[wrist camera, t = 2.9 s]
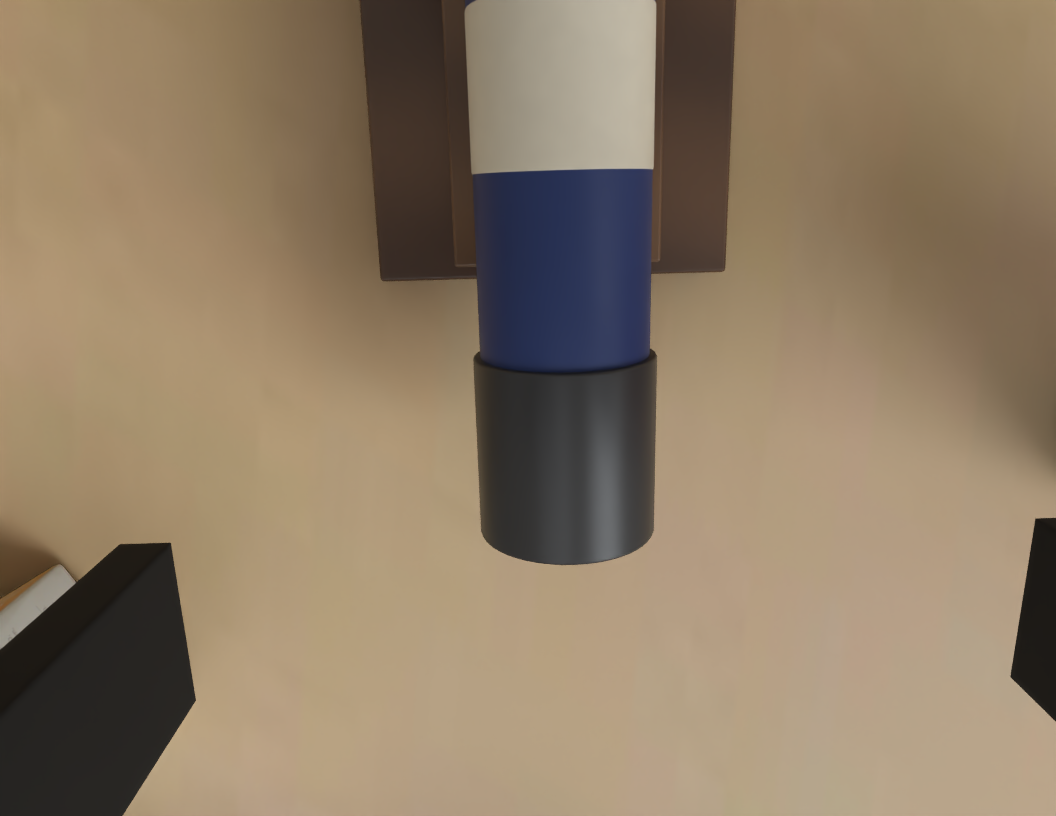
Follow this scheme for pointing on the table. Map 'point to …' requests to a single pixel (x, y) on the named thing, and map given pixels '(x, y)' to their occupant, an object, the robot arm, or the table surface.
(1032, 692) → the robot arm
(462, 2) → the stand
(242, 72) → the table surface
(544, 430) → the marker
